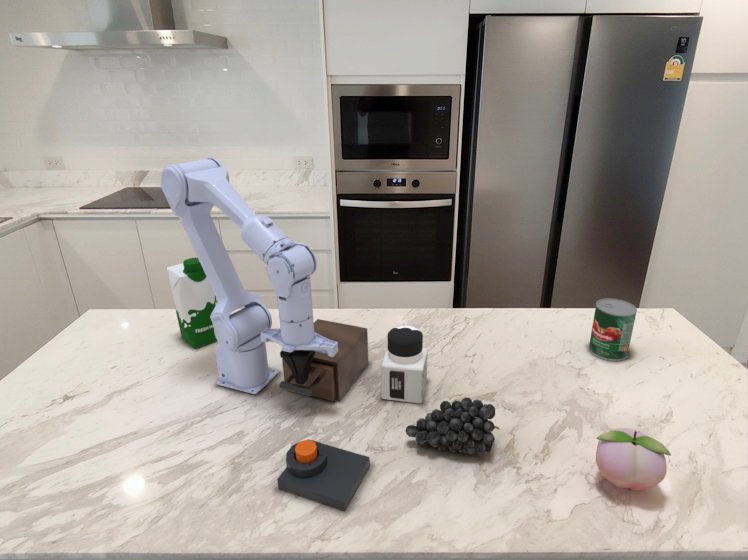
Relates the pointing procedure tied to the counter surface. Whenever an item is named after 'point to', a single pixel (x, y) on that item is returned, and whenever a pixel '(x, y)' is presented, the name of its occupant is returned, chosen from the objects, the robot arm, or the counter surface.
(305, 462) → the button
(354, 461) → the button block
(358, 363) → the cabinet
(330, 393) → the drawer
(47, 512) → the counter surface
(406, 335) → the container
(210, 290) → the milk carton
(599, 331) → the canned tomato
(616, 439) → the decorative fruit
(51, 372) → the counter surface
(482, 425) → the fruit
